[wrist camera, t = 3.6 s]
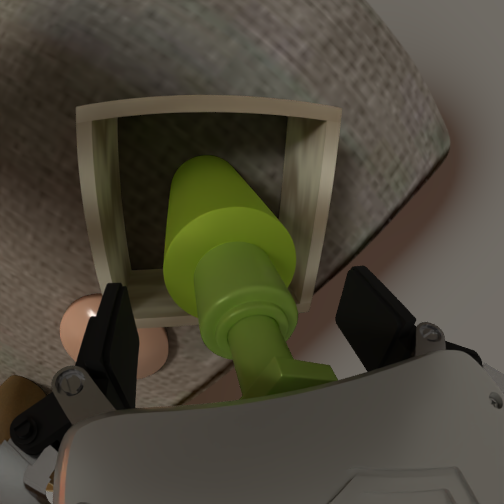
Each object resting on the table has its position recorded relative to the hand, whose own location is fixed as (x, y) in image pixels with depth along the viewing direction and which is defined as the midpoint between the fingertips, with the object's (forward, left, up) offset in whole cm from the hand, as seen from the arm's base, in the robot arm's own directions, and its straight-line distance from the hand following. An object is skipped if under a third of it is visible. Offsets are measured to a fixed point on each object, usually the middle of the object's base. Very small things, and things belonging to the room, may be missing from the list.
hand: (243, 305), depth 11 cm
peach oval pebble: (+16, -11, -15) cm, 24 cm away
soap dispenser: (0, 0, -15) cm, 15 cm away
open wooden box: (0, 0, -15) cm, 15 cm away
